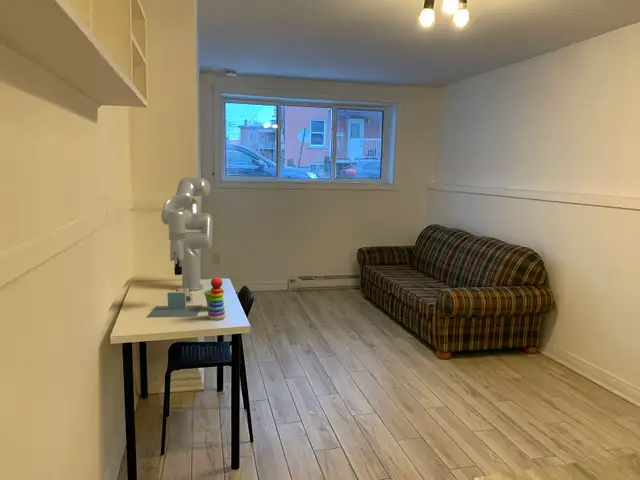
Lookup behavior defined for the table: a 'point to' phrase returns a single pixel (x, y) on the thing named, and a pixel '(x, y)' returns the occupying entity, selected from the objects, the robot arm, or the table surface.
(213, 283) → the stacking toy
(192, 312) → the mat
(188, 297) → the packaged product
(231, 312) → the table surface
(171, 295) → the tile
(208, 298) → the plant pot
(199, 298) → the table surface
